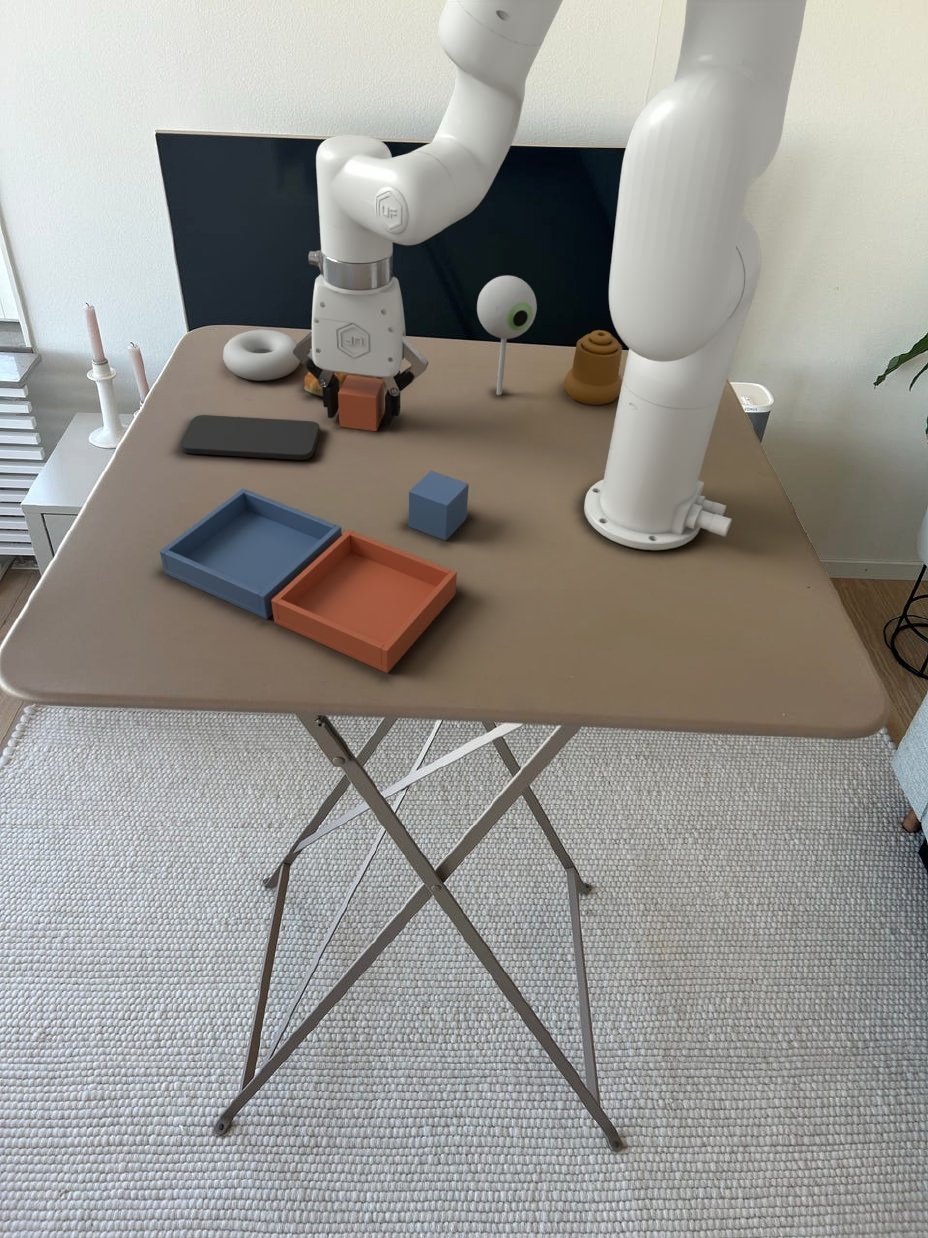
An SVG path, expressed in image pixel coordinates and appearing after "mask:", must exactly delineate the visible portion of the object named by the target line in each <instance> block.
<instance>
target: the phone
mask: <svg viewBox="0 0 928 1238" xmlns="http://www.w3.org/2000/svg"><path fill="white" fill-rule="evenodd" d="M320 432H321V429H320V424H319V423H318V422H315V421H311V420H298V419H297V420H296V419H279V418H263V417H247V416H230V415H227V416H226V415H213V414H211V415H209V414H199V415H196V416H194V417H193V418H192V419H191V421H190V422H189V425H188V426H187V428H186V430H185V432H184V434H183V436H182V438H181V440H180V443H179V447H180V450H181V451H182V452H184V453H186V454H194V455H196V454H197V455H213V456H228V457H229V456H231V457H246V458H247V457H248V458H262V459H263V458H265V459H280V460H281V459H283V460H299V461H300V460H301V461H302V460H308V459H310V458H312V456H313V455H314V452H315V449H316V445H317V442H318V440H319V436H320Z"/></svg>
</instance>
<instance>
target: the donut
mask: <svg viewBox="0 0 928 1238" xmlns="http://www.w3.org/2000/svg"><path fill="white" fill-rule="evenodd" d="M297 344H298V342H297V341H296V339H294V338H293V337H292V336H290V335H288V334H287V333H285V332H281V331H278V330H271V329H255V330H254V329H253V330H249V331H245V332H241V333H238V334H237V335H235V336H233V337H232V338H230V339H229V341H228V342H227V343H226V344H225V345H224V348H223V353H222V360H223V363H224V364H225V366H226V368H227V369H228V370H229V371H230V372H232V373H233V374H234V375H235V376H237V377H238V378H239V377H240V378H243V379H245V380H250V381H273V380H278V379H282V378H284V377H286V376H288V375H290V374H292V373H293V372H294V371H295V370H297V368H298V367H299V365H300V363H301V361H300V360H299V359H298V358H297V357H296V356H295V355H294V354H293V349H294V348H295V346H296V345H297Z"/></svg>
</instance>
